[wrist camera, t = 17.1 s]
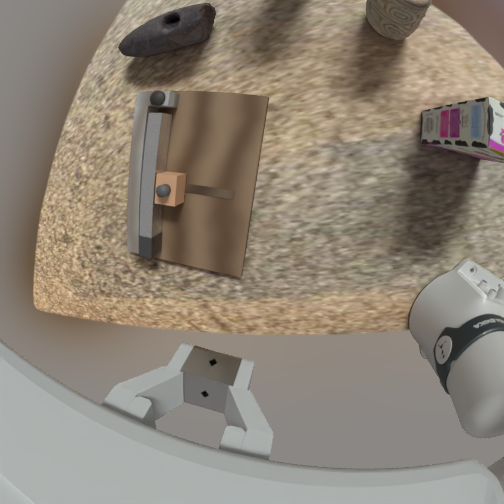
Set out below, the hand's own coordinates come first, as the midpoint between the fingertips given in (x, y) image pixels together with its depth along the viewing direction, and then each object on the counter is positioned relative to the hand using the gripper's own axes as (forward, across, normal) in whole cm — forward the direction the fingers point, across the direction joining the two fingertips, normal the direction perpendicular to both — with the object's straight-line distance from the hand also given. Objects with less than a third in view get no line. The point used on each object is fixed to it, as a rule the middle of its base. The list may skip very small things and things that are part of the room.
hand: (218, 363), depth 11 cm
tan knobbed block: (+28, -15, +1) cm, 32 cm away
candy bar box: (+29, +22, +16) cm, 40 cm away
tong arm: (+28, -17, +1) cm, 33 cm away
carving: (+29, +10, +30) cm, 43 cm away
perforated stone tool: (+29, -19, +23) cm, 42 cm away
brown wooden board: (+29, -13, +2) cm, 32 cm away
